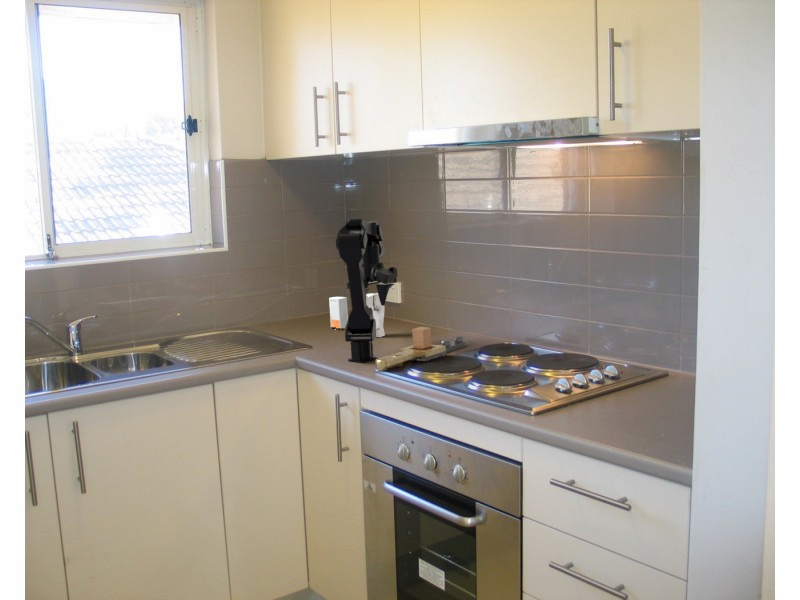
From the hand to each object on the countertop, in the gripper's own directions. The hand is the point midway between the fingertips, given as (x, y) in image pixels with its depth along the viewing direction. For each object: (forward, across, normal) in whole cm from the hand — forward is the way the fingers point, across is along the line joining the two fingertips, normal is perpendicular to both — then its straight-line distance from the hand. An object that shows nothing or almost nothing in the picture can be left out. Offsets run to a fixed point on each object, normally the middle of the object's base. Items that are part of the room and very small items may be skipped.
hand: (373, 307), depth 267 cm
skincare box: (+13, +20, +35) cm, 43 cm away
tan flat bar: (+13, -7, -25) cm, 29 cm away
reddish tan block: (+13, -7, -25) cm, 29 cm away
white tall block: (+13, +14, +12) cm, 23 cm away
